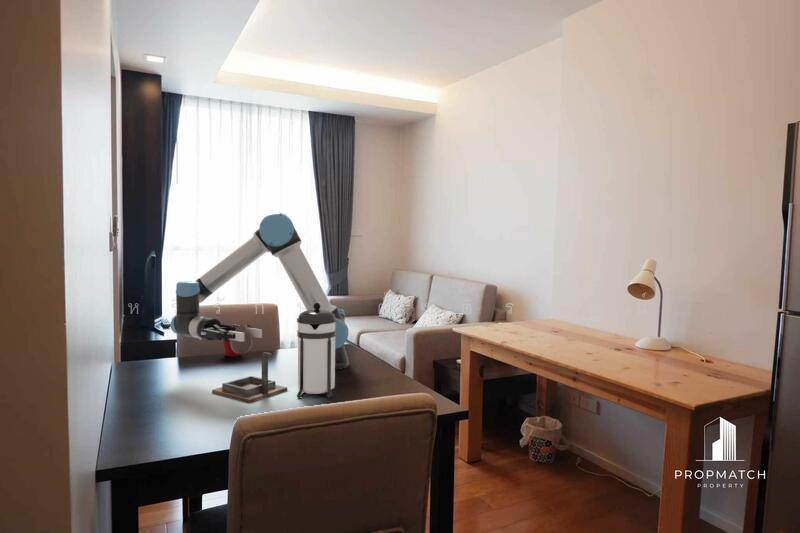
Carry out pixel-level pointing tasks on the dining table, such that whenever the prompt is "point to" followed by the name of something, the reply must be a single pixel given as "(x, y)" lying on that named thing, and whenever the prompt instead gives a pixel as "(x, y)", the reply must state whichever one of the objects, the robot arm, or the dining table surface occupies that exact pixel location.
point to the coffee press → (316, 352)
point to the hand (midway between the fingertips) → (252, 335)
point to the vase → (242, 346)
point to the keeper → (251, 386)
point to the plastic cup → (229, 349)
